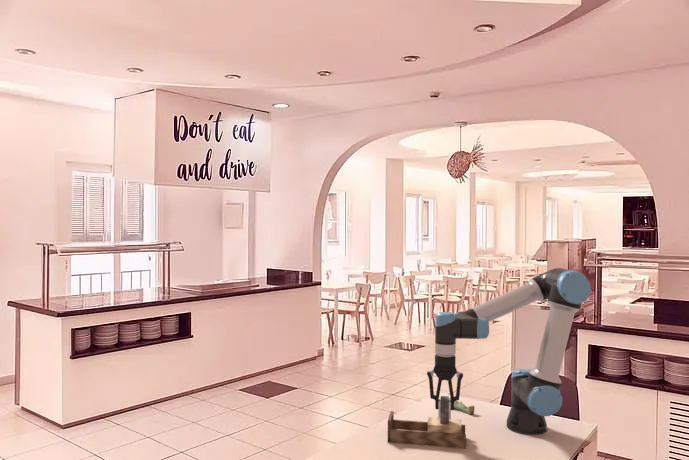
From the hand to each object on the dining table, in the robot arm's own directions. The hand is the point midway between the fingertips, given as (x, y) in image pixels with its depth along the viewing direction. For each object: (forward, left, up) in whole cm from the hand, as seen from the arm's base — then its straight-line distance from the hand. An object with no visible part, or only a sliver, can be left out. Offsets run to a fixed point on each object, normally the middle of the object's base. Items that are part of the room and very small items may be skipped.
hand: (444, 418), depth 206 cm
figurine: (-6, -39, -9) cm, 40 cm away
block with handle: (0, 0, -7) cm, 7 cm away
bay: (+6, 0, -9) cm, 11 cm away
